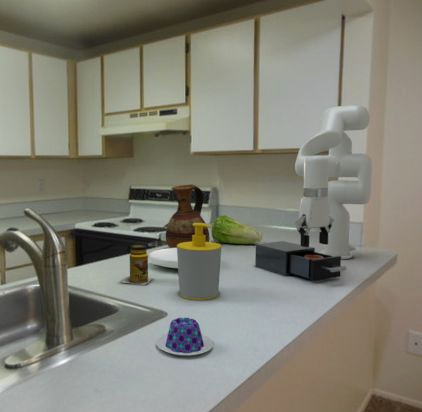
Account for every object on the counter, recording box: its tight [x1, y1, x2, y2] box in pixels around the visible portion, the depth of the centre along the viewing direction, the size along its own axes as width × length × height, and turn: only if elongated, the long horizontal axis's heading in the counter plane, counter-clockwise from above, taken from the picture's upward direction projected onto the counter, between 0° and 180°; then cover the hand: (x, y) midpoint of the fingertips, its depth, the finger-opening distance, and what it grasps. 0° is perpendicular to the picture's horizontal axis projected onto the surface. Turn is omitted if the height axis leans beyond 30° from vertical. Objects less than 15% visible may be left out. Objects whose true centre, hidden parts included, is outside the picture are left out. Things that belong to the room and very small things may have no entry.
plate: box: [148, 247, 178, 269], centre depth 157 cm, size 28×6×27 cm
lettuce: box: [211, 214, 263, 245], centre depth 201 cm, size 14×24×14 cm
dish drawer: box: [287, 251, 348, 282], centre depth 137 cm, size 19×12×7 cm, turn 25°
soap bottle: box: [177, 222, 222, 301], centre depth 121 cm, size 13×13×21 cm
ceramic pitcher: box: [165, 184, 210, 248], centre depth 186 cm, size 20×20×30 cm
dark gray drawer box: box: [254, 240, 316, 277], centre depth 150 cm, size 16×14×9 cm
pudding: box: [155, 317, 214, 356], centre depth 86 cm, size 12×12×5 cm
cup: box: [304, 255, 323, 260], centre depth 138 cm, size 6×6×5 cm
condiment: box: [121, 244, 152, 286], centre depth 136 cm, size 7×8×12 cm
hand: (314, 245), depth 138 cm, fingers open, 8 cm apart
